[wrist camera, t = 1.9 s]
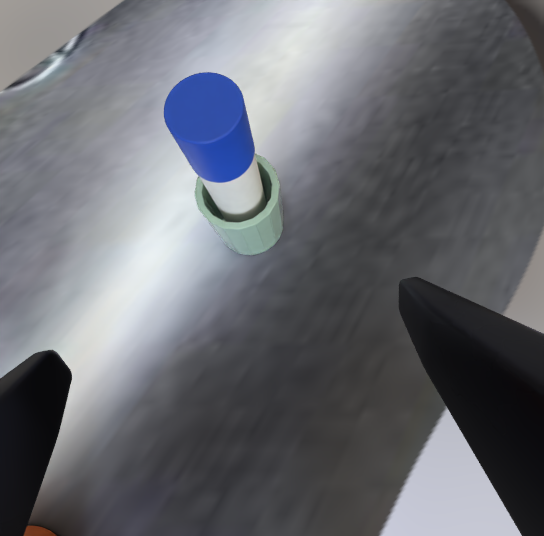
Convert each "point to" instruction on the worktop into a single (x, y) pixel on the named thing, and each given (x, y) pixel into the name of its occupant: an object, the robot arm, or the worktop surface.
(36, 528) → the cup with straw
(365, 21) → the worktop surface
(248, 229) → the glass
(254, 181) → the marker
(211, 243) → the worktop surface
